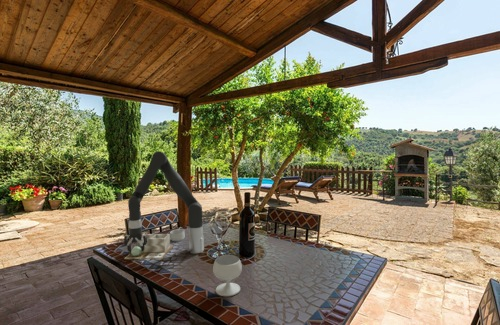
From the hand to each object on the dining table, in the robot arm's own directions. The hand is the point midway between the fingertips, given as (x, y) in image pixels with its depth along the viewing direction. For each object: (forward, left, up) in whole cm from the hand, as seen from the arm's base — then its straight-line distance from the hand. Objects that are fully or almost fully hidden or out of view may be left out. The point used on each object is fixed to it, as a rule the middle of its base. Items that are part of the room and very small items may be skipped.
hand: (135, 251), depth 161 cm
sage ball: (0, 0, -3) cm, 3 cm away
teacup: (-17, -33, -5) cm, 37 cm away
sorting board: (-7, -7, -5) cm, 10 cm away
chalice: (-65, +38, -5) cm, 75 cm away
